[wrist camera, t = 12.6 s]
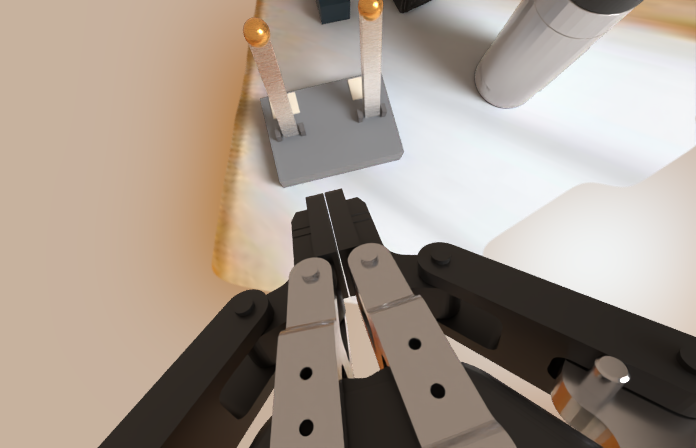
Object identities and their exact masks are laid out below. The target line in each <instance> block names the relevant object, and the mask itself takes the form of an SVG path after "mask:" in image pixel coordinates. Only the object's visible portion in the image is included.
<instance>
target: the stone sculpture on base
mask: <svg viewBox="0 0 696 448" xmlns="http://www.w3.org/2000/svg"><path fill="white" fill-rule="evenodd" d="M316 2H317V6H318V10H319V14H320V18H321V22H322V24H326V23H331V22H336V21H341V20H346V19H350V0H316Z"/></svg>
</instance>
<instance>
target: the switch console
mask: <svg viewBox="0 0 696 448" xmlns="http://www.w3.org/2000/svg"><path fill="white" fill-rule="evenodd" d="M287 95H288V98H289V102H290V105H291V108H292V111H293V115H294V118H295V121H296V124H297V128H298V132H299V134H298V135H294V136H290V137H286V138H284V136H283V134H282V131H281V128H280V126H279V123H278V120H277V118H276V115H275V112H274V110H273V107H272V104H271V102H270V99H269V97H265V98H261V99H260V101H261V105H262V109H263V114H264V118H265V122H266V126H267V131H268V135H269V139H270V143H271V148H272V152H273V156H274V160H275V165H276V169H277V173H278V177H279V182H280V183H281V185H282V186H283V187H284V188H285V187H289V186H293V185H297V184H302V183H306V182H310V181H314V180H318V179H322V178H326V177H330V176H334V175H338V174H342V173H346V172H350V171H355V170H359V169H363V168H367V167H371V166H375V165H379V164H383V163H387V162H391V161H395V160H399V159H400V158H401V157H402V155H403V153H404V150H403V147H402V143H401V140H400V136H399V133H398V129H397V126H396V122H395V119H394V115H393V112H392V108H391V105H390V101H389V98H388V94H387V91H386V87H385V84H384V81H383V77H382V74H381V87H380V115H378V116H374V117H370V118H365V117H364V114H363V103H362V76H361V75H360V76H356V77H351V78H347V79H343V80H338V81H334V82H330V83H325V84H321V85H317V86H313V87H308V88H304V89H300V90H295V91H291V92H287Z"/></svg>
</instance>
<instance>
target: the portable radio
mask: <svg viewBox="0 0 696 448" xmlns="http://www.w3.org/2000/svg"><path fill="white" fill-rule="evenodd" d="M393 1H394V3H395V4H396V6H397V8H398V9H399V11H400V12H401V13H405V12H408V11H410V10H412V9H414V8H416V7H419V6H421V5H423V4H425V3H427V2H429V1H431V0H393Z"/></svg>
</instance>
